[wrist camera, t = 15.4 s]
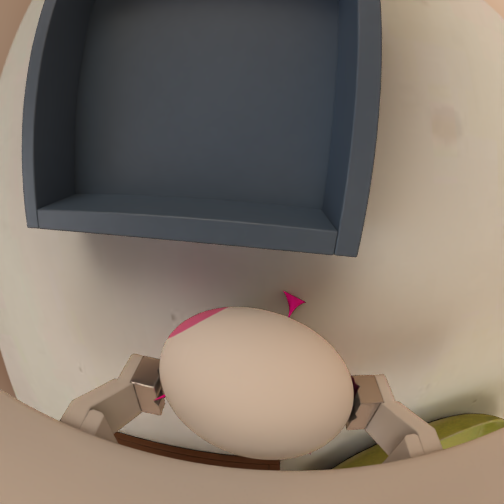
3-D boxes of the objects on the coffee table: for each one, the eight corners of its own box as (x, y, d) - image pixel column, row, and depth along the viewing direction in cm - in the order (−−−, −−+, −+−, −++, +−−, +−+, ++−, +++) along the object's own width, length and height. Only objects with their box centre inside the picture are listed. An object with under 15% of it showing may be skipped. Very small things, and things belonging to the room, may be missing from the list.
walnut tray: (140, 485, 22) (133, 506, 19) (104, 427, 17) (91, 456, 14) (260, 504, 22) (259, 527, 19) (279, 458, 17) (279, 493, 14)
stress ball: (190, 299, 16) (137, 406, 12) (227, 217, 9) (124, 417, 5) (305, 354, 16) (270, 457, 13) (403, 313, 10) (368, 486, 6)
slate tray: (72, 206, 11) (26, 228, 8) (97, -19, 7) (61, -43, 4) (334, 225, 10) (357, 258, 8) (351, -28, 6) (373, -67, 4)
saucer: (306, 511, 23) (306, 532, 20) (270, 443, 16) (270, 482, 13) (462, 464, 20) (469, 482, 17) (524, 355, 13) (543, 380, 10)
